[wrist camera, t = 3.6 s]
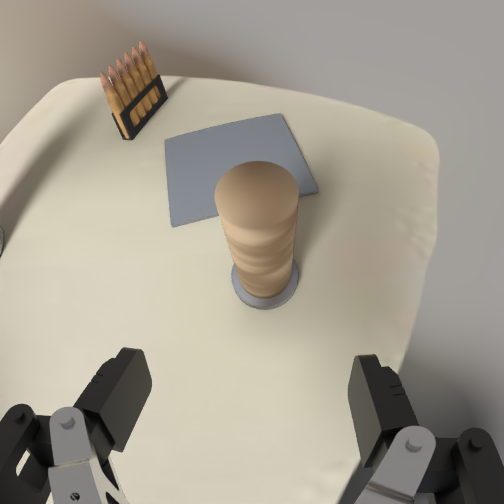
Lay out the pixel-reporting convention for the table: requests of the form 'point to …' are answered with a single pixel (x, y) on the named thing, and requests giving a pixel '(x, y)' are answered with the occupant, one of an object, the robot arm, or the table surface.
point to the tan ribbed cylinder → (260, 231)
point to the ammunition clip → (133, 92)
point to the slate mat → (226, 162)
